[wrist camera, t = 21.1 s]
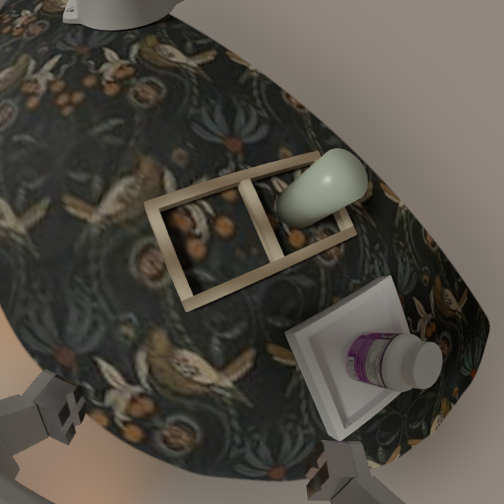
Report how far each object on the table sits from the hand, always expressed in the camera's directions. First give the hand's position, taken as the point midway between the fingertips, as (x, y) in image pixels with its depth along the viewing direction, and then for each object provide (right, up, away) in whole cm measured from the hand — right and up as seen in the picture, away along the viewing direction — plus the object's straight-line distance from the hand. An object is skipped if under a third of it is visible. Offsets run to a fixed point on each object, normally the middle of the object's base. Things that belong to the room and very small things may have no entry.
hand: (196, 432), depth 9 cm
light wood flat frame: (+2, +9, +21) cm, 22 cm away
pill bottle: (+13, -5, +21) cm, 25 cm away
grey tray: (+13, -5, +21) cm, 26 cm away
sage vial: (+6, +10, +22) cm, 25 cm away
